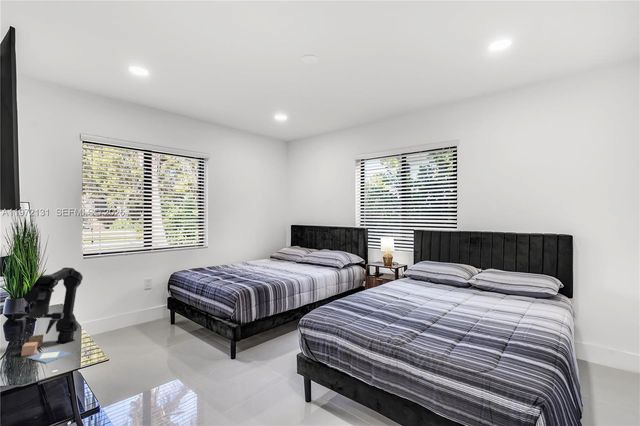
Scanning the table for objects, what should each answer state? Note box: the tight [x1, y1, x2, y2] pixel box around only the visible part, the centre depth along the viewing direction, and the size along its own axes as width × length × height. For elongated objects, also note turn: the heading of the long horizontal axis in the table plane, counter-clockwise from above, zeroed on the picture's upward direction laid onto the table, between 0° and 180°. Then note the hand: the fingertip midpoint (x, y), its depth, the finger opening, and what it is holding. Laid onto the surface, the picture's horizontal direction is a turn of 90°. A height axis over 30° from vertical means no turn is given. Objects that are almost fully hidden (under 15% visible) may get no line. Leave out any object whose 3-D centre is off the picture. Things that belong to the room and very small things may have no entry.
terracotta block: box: [20, 342, 38, 357], centre depth 162 cm, size 5×5×5 cm
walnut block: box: [28, 334, 44, 348], centre depth 172 cm, size 5×5×5 cm
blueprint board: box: [26, 348, 72, 364], centre depth 161 cm, size 12×13×1 cm
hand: (34, 334), depth 151 cm, fingers open, 9 cm apart
